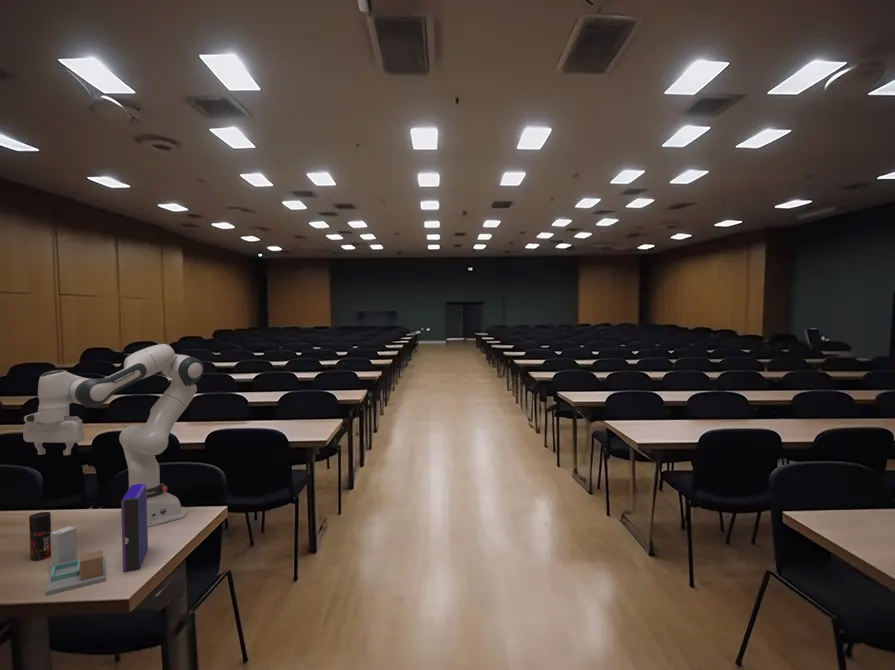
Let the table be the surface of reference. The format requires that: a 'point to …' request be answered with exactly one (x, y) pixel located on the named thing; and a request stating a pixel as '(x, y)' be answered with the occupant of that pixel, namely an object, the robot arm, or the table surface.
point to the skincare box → (63, 546)
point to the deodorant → (40, 536)
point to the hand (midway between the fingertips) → (54, 454)
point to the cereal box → (134, 527)
